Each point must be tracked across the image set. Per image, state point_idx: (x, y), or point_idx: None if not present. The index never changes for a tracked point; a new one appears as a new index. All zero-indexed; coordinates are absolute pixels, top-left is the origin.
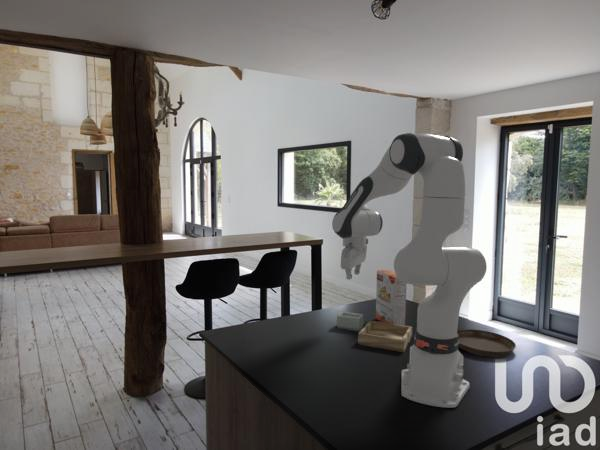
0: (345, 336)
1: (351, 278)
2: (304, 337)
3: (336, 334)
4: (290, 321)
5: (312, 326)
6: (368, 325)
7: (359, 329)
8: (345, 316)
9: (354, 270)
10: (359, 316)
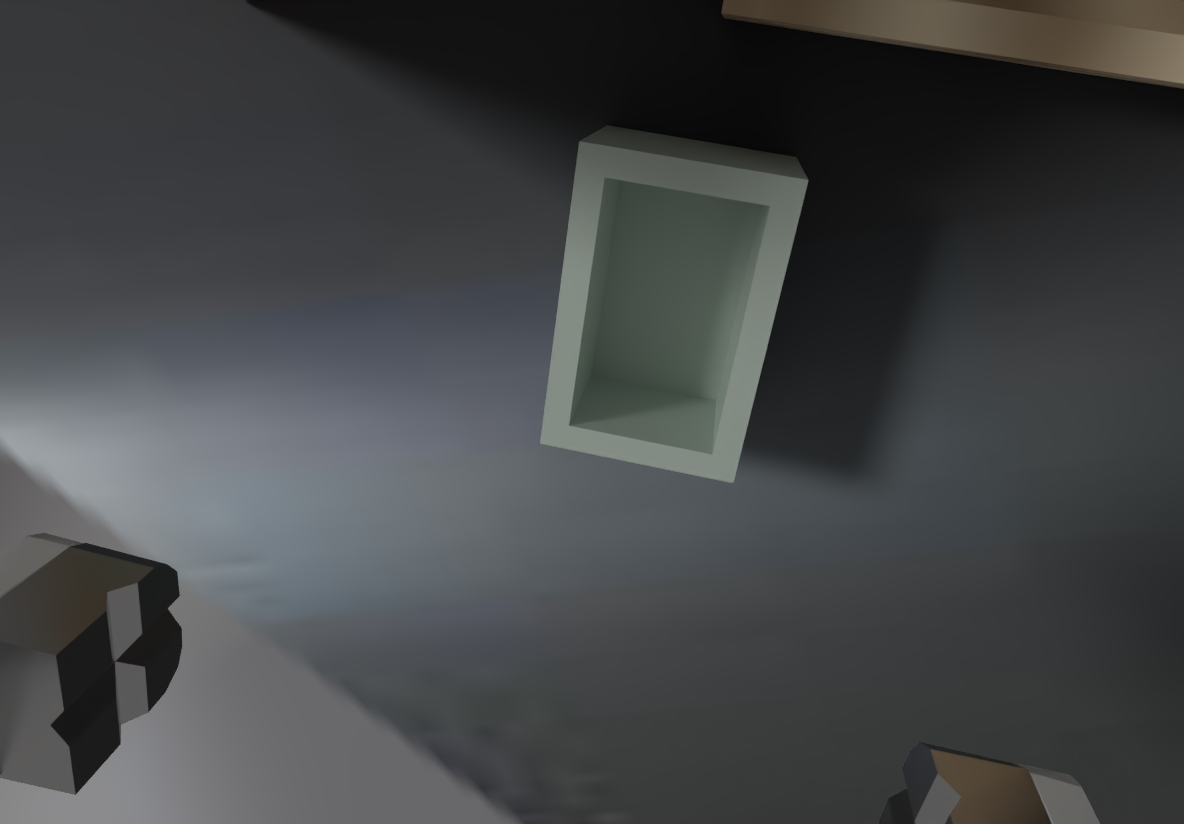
0: (1006, 290)
1: (963, 753)
2: (1094, 663)
3: (952, 393)
4: (665, 805)
5: (751, 634)
6: (980, 5)
7: (774, 155)
8: (746, 379)
9: (87, 775)
10: (694, 190)
